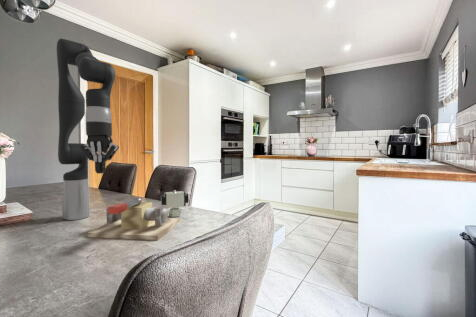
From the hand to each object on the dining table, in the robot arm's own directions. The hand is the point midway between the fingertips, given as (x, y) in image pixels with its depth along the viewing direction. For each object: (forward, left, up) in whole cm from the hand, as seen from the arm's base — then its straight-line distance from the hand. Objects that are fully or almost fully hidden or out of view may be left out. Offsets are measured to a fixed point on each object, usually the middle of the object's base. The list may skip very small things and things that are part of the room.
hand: (100, 173), depth 80 cm
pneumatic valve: (+14, +29, -23) cm, 39 cm away
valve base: (+6, +11, -23) cm, 26 cm away
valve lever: (+7, +4, -13) cm, 15 cm away
